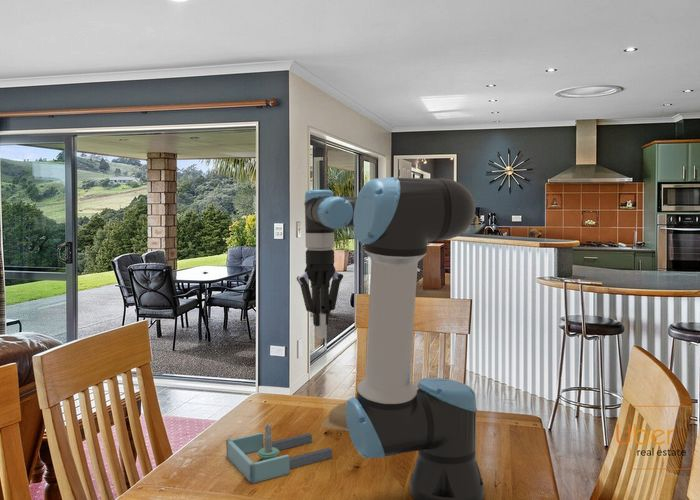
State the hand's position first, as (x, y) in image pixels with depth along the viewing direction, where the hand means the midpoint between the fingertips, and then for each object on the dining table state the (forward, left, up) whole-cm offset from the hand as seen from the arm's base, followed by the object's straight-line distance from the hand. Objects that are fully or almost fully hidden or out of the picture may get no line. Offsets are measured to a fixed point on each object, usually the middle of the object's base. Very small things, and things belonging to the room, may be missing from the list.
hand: (321, 337), depth 155 cm
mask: (-5, -13, -25) cm, 29 cm away
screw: (-12, +20, -25) cm, 34 cm away
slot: (-12, +13, -25) cm, 30 cm away
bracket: (-12, +23, -25) cm, 36 cm away
